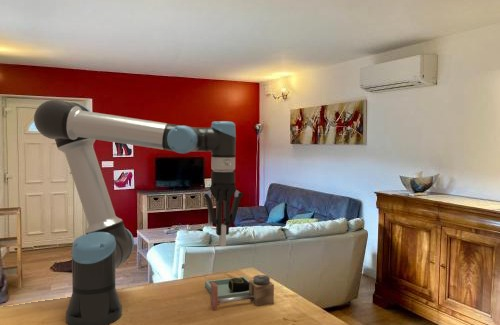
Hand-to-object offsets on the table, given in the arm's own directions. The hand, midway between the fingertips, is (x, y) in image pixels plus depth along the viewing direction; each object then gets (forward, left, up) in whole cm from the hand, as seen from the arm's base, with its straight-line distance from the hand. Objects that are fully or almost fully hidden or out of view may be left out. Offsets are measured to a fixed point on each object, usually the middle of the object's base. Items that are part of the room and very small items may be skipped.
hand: (222, 245), depth 132 cm
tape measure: (+9, +6, -18) cm, 21 cm away
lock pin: (+2, -4, -18) cm, 19 cm away
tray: (+6, +7, -18) cm, 21 cm away
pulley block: (+12, -4, -18) cm, 22 cm away
